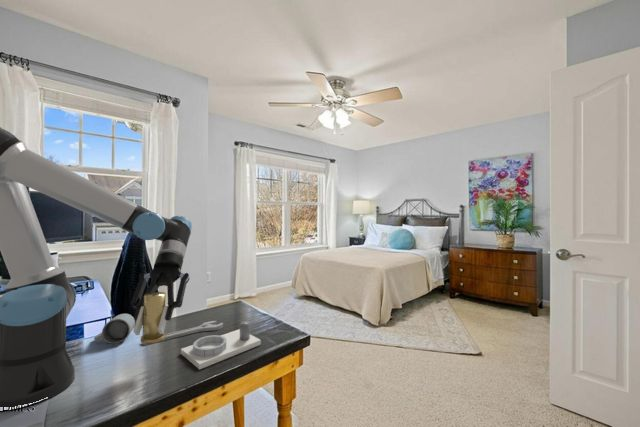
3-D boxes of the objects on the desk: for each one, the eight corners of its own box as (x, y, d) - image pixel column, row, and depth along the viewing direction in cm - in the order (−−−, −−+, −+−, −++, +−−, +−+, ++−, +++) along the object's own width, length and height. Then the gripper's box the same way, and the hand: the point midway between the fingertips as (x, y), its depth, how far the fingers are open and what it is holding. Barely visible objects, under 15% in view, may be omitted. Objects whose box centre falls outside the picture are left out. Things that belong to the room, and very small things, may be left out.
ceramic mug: (136, 331, 100) (136, 309, 99) (129, 341, 92) (129, 318, 92) (99, 336, 96) (99, 313, 96) (89, 347, 88) (89, 322, 88)
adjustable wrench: (142, 347, 89) (142, 342, 89) (141, 339, 95) (141, 334, 95) (223, 329, 104) (223, 324, 104) (219, 323, 109) (219, 318, 109)
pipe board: (199, 369, 77) (199, 345, 77) (180, 353, 85) (181, 332, 85) (260, 344, 92) (261, 324, 92) (239, 333, 100) (240, 314, 100)
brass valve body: (136, 344, 74) (138, 297, 74) (145, 334, 79) (147, 291, 79) (161, 343, 75) (163, 297, 75) (168, 333, 81) (170, 291, 80)
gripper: (202, 265, 94) (188, 336, 78) (141, 264, 90) (113, 340, 74) (199, 251, 89) (183, 324, 73) (135, 250, 85) (103, 327, 69)
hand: (148, 332), depth 73 cm, fingers closed on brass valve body, 5 cm apart
